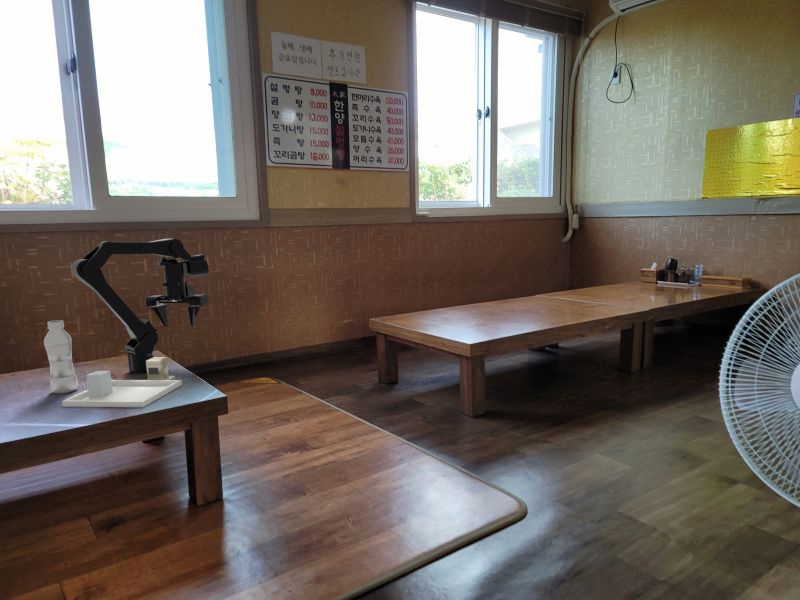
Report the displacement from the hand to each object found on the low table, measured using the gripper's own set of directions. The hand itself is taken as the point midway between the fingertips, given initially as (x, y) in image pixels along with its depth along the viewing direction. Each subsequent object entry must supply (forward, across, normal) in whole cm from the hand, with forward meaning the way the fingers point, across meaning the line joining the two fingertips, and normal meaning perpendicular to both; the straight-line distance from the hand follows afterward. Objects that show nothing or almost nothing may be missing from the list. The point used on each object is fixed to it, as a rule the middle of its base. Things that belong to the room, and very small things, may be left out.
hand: (179, 326), depth 176 cm
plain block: (+12, +5, +33) cm, 35 cm away
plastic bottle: (+12, +18, +30) cm, 37 cm away
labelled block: (+12, -3, +19) cm, 22 cm away
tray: (+12, -2, +33) cm, 35 cm away
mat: (+12, -3, +19) cm, 23 cm away
